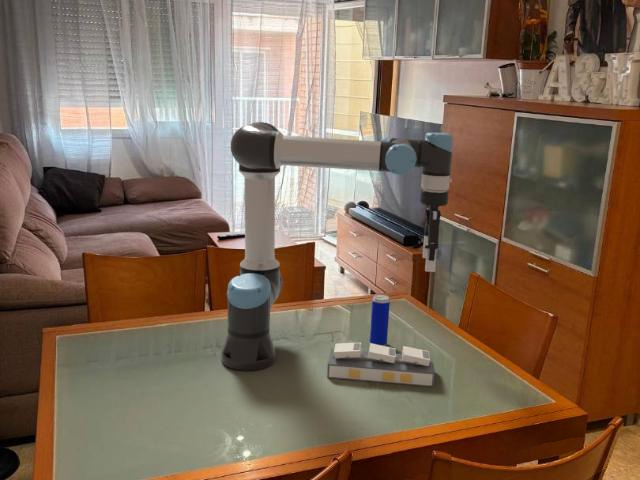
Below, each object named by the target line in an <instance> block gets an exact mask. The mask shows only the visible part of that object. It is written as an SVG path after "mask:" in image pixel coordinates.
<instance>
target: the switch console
mask: <svg viewBox="0 0 640 480" xmlns="http://www.w3.org/2000/svg"><path fill="white" fill-rule="evenodd" d="M334 349H335V348H331V349H330V353H329V357H328V361H327V369H326V370H327V374H326V375H327V377H326V378H327V379H328V378H329V379H338V380H348V381H359V382H360V381H361V382H371V383H372V382H373V383H374V382H375V383H383V384H384V383H386V384H393V385H394V384H395V385H396V384H397V385H407V386H418V387H430V388H431V387H432V388H434V386H435V385H434V383H435V375H436V374H435V365H434V360H433V359H434V358H433V356H430V362H429V366H425V365H420V364H417V365H414V364H413V363H411V362H406V361H402V353H396V358H395V362H394V363H390V362H386V361H383V362H380V361H379V360H376V359H372V358H368V355H369V350H368V351H367V350H361V357H353V358H349V359H346V358H334Z"/></svg>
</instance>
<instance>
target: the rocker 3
mask: <svg viewBox="0 0 640 480" xmlns="http://www.w3.org/2000/svg"><path fill="white" fill-rule="evenodd" d="M401 354H402V361H406V362H411V363H413V364H414V365H417V364H420V365H425V366H429V362H430V357H431V356H430V351H429V350H424V349H419V348H414V347H410V346H405V345H403V346H402V351H401Z"/></svg>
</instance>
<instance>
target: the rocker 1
mask: <svg viewBox="0 0 640 480" xmlns="http://www.w3.org/2000/svg"><path fill="white" fill-rule="evenodd" d="M333 349H334V358H346V359H349V358H353V357H361V351H362V349H363V348H362V342H344V343H343V342H342V343H341V342H339V343H335V345H334V348H333Z"/></svg>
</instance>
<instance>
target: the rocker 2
mask: <svg viewBox="0 0 640 480" xmlns="http://www.w3.org/2000/svg"><path fill="white" fill-rule="evenodd" d="M368 347H369V348H368V351H369V355H368V358H372V359H376V360H379V361H380V362H383V361H386V362H390V363H394V362H395V358H396V354H397V353H396V348H395V347H390V346H386V345H385V346H381V345H377V344H372V343H370V342H369V346H368Z"/></svg>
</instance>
